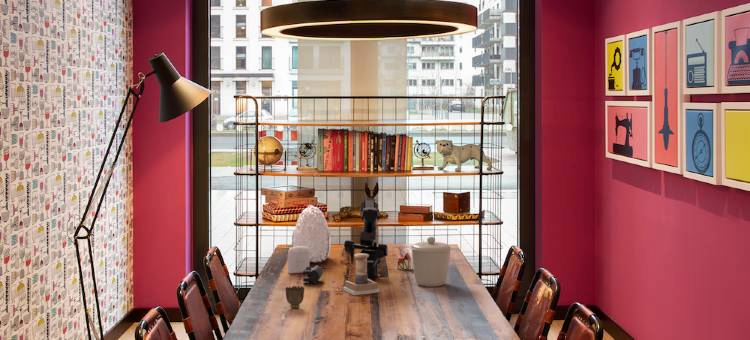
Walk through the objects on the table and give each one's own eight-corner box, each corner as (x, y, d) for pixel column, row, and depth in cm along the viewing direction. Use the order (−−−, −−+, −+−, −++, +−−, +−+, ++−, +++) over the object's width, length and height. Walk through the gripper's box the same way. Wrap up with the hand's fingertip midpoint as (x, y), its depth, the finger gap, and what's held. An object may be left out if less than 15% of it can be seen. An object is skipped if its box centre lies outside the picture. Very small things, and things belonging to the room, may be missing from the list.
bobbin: (361, 284, 370) (362, 252, 369) (371, 287, 365) (372, 254, 364) (350, 286, 365) (350, 254, 364) (360, 289, 361) (360, 256, 360)
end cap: (318, 285, 377) (319, 270, 376) (302, 284, 377) (302, 269, 377) (323, 280, 387) (323, 265, 386) (307, 280, 387) (307, 265, 387)
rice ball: (295, 255, 447) (295, 201, 445) (332, 255, 447) (332, 201, 445) (289, 265, 419) (289, 208, 417) (328, 266, 419) (328, 208, 417)
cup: (285, 305, 339) (285, 285, 339) (304, 305, 340) (304, 285, 339) (285, 310, 332) (285, 289, 331) (304, 310, 333) (304, 289, 332)
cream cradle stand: (368, 287, 372) (368, 278, 372) (379, 292, 363) (379, 282, 363) (343, 290, 367) (343, 281, 366) (354, 295, 358) (354, 285, 357)
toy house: (412, 270, 410) (412, 253, 410) (397, 271, 410) (397, 254, 409) (410, 268, 416) (410, 251, 416) (396, 268, 416) (396, 251, 415)
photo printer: (307, 270, 408) (307, 244, 407) (310, 272, 404) (310, 246, 403) (286, 272, 403) (286, 246, 402) (290, 274, 399) (289, 247, 398)
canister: (424, 278, 391) (424, 232, 390) (459, 283, 381) (459, 236, 379) (401, 285, 377) (402, 237, 375) (437, 291, 366) (438, 241, 365)
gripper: (346, 221, 375) (339, 252, 366) (389, 226, 372) (382, 257, 363) (348, 235, 384) (341, 266, 375) (390, 240, 381) (384, 271, 372)
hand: (362, 265), depth 371 cm, fingers open, 9 cm apart
